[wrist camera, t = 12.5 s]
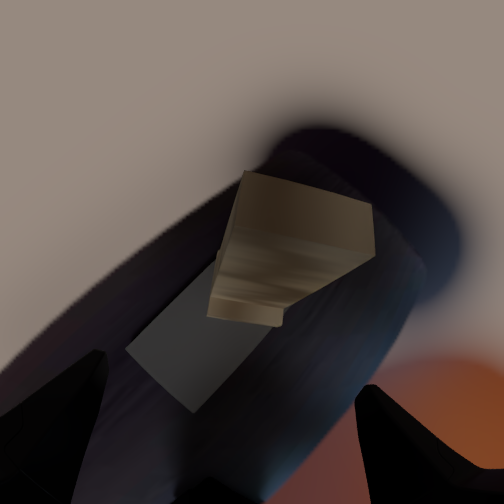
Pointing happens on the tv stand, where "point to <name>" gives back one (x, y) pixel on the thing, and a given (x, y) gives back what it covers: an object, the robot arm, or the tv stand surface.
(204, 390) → the slate tile
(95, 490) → the tv stand surface
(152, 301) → the tv stand surface
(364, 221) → the tapered block
